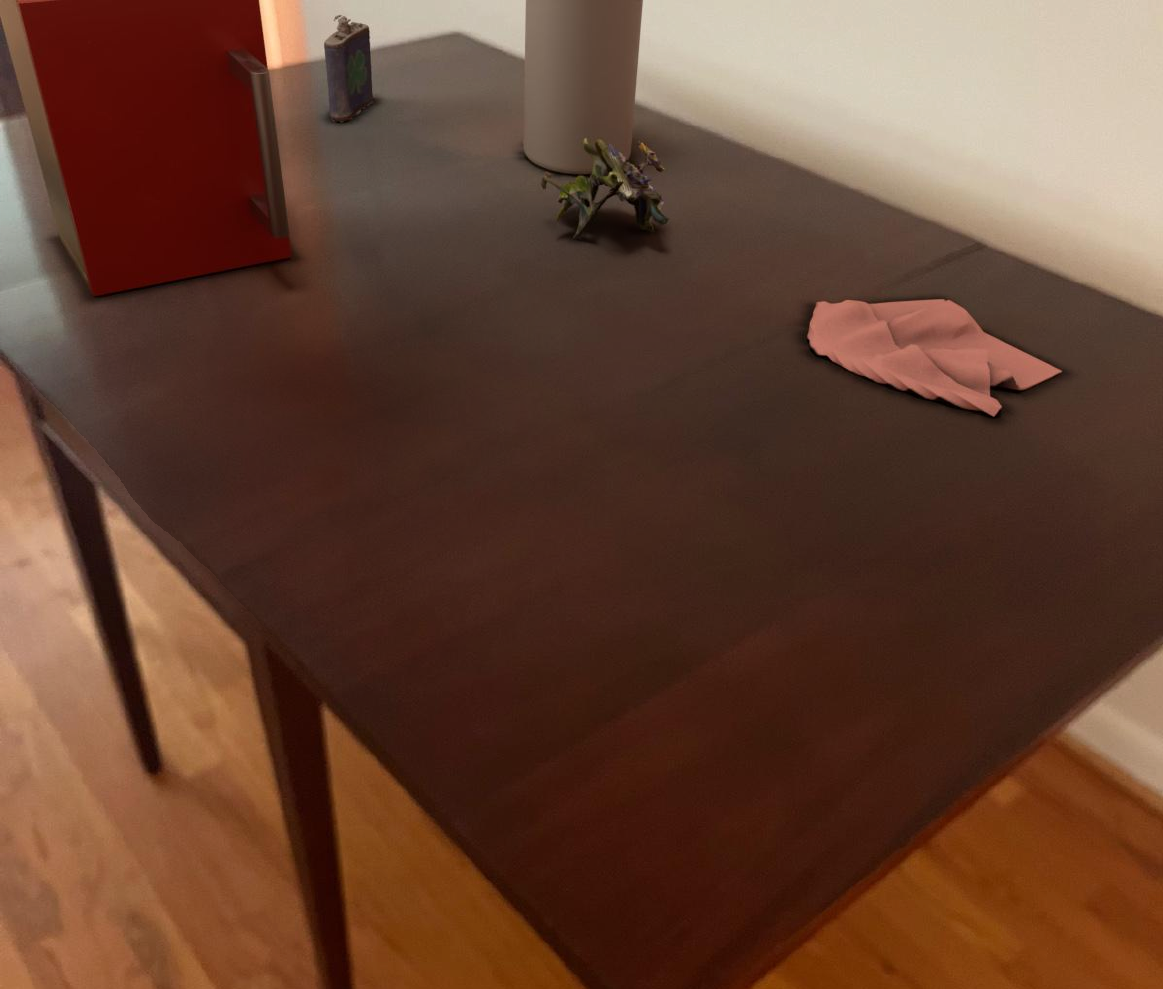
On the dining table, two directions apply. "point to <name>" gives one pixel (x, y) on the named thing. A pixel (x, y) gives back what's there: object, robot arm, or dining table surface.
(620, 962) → the dining table surface
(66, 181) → the valve door
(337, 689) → the dining table surface
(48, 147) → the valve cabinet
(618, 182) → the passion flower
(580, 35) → the cylinder vase
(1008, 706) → the dining table surface
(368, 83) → the flask
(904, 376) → the cloth
